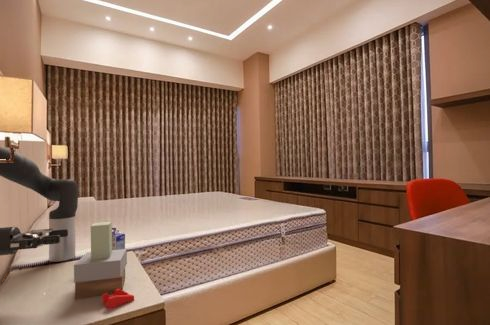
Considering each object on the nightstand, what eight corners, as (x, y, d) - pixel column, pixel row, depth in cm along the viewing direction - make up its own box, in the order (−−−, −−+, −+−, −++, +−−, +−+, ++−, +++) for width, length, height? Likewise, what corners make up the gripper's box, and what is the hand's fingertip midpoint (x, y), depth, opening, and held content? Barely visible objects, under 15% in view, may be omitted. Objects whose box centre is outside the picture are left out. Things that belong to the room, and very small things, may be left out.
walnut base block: (84, 284, 85) (84, 268, 85) (125, 278, 89) (125, 263, 89) (75, 301, 74) (75, 283, 74) (122, 293, 78) (122, 276, 78)
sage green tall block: (94, 254, 84) (94, 222, 84) (112, 252, 85) (111, 221, 85) (91, 259, 79) (90, 226, 79) (109, 257, 80) (109, 224, 81)
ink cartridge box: (126, 265, 101) (125, 227, 101) (116, 270, 96) (116, 230, 96) (103, 264, 103) (103, 226, 103) (92, 269, 98) (92, 229, 98)
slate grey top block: (87, 267, 86) (86, 252, 86) (126, 263, 89) (126, 248, 89) (74, 282, 74) (74, 264, 74) (120, 277, 78) (120, 260, 78)
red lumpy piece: (109, 310, 68) (109, 299, 68) (102, 304, 72) (102, 293, 72) (134, 301, 73) (134, 290, 73) (126, 296, 76) (126, 285, 76)
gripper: (-20, 233, 66) (56, 227, 72) (7, 223, 79) (70, 219, 85) (-21, 264, 66) (56, 255, 72) (7, 248, 79) (70, 242, 85)
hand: (64, 235), depth 79 cm, fingers open, 8 cm apart
